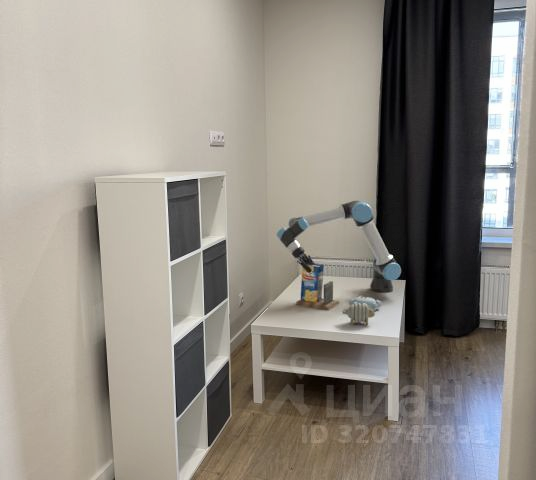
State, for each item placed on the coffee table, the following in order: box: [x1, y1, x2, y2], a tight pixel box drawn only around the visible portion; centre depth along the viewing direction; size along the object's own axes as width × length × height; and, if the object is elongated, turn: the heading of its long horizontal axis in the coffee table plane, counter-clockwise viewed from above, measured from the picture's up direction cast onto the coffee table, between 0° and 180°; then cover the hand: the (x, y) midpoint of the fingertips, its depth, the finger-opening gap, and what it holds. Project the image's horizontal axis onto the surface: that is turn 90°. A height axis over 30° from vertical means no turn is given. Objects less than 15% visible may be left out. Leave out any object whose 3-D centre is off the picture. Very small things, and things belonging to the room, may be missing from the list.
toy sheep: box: [342, 303, 375, 326], centre depth 285 cm, size 11×17×11 cm, turn 89°
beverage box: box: [300, 262, 325, 303], centre depth 320 cm, size 7×11×22 cm, turn 59°
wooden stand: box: [295, 281, 340, 311], centre depth 320 cm, size 22×14×14 cm, turn 59°
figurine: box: [348, 295, 382, 312], centre depth 309 cm, size 17×8×20 cm
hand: (320, 279), depth 317 cm, fingers closed on beverage box, 2 cm apart
